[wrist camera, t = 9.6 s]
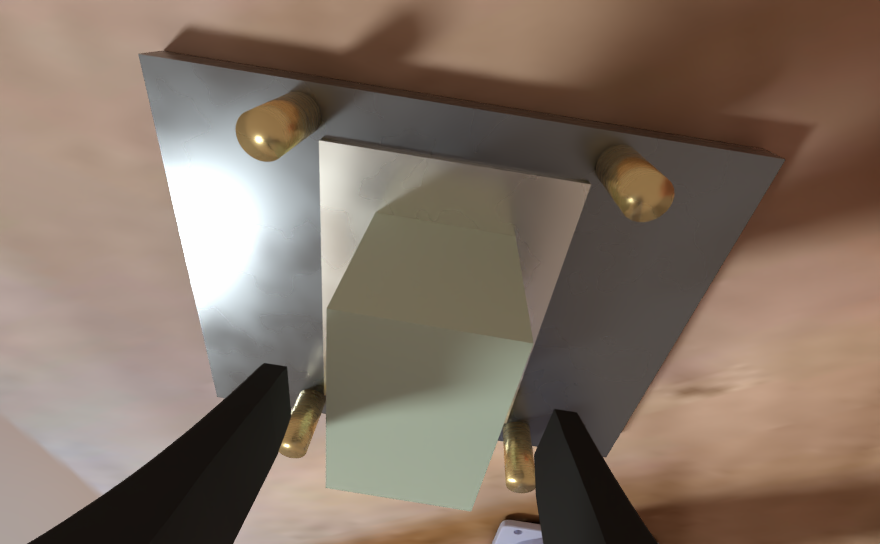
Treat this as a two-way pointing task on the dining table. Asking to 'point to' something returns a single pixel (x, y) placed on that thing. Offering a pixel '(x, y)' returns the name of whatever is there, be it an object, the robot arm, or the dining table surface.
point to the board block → (423, 360)
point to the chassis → (447, 202)
